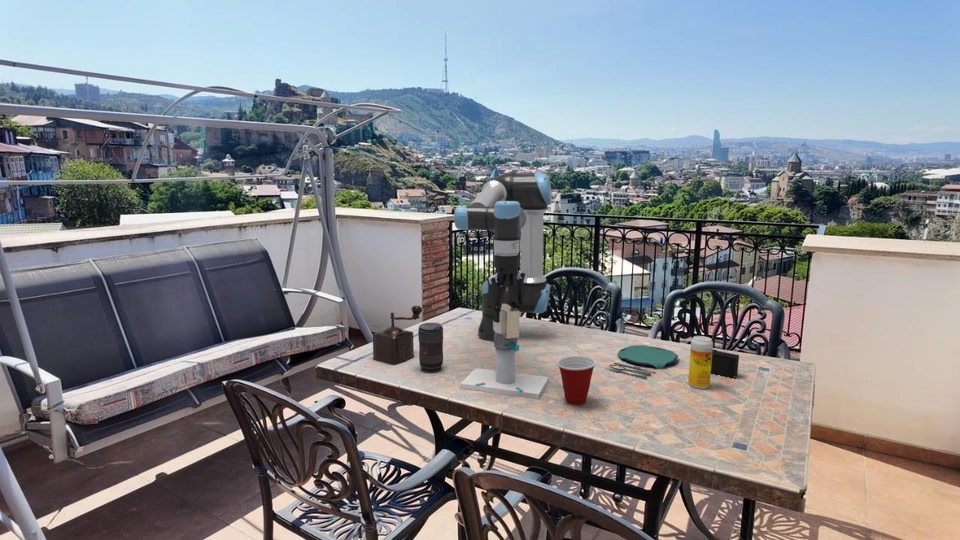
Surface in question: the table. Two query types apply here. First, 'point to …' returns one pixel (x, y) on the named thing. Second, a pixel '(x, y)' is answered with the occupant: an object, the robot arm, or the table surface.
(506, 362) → the base
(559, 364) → the plastic cup
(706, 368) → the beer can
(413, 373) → the table surface
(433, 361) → the camera lens
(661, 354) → the cutlery set
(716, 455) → the table surface
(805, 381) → the table surface
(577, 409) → the table surface
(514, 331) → the beige boxy piece
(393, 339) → the manual coffee grinder
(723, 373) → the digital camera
